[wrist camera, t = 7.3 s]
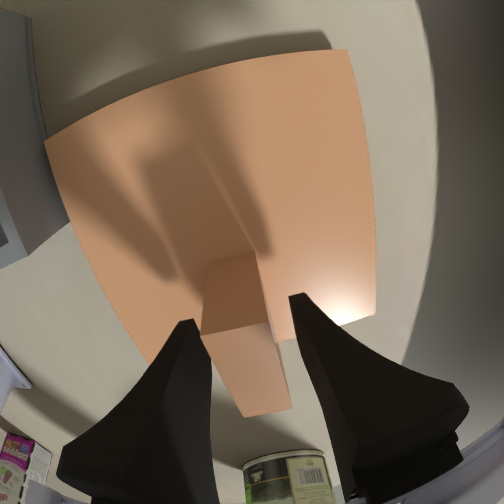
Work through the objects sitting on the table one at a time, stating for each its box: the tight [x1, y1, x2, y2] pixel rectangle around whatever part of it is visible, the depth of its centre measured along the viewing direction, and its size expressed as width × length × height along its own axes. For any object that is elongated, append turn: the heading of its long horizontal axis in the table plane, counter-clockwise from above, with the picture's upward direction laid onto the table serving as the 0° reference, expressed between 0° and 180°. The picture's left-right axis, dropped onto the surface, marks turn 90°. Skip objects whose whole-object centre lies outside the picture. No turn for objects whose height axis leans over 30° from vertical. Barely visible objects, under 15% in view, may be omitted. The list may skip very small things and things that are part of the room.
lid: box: [44, 49, 376, 418], centre depth 10 cm, size 13×13×6 cm
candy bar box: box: [0, 433, 53, 504], centre depth 18 cm, size 11×5×16 cm, turn 106°
